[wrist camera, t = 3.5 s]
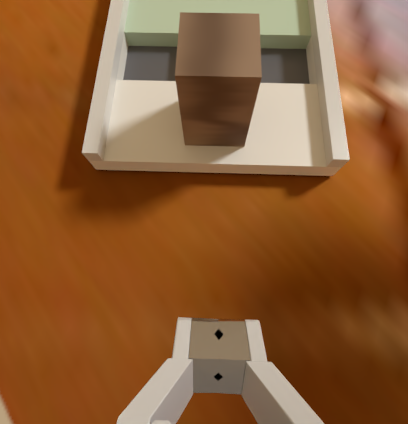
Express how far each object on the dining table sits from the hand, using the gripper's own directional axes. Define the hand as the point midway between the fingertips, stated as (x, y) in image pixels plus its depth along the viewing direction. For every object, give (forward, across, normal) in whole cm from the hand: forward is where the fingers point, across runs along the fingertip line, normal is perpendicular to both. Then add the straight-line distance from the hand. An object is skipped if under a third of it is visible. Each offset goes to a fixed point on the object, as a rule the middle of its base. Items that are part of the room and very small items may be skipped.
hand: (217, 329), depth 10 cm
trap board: (+30, 0, -9) cm, 32 cm away
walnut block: (+22, 0, -4) cm, 23 cm away
